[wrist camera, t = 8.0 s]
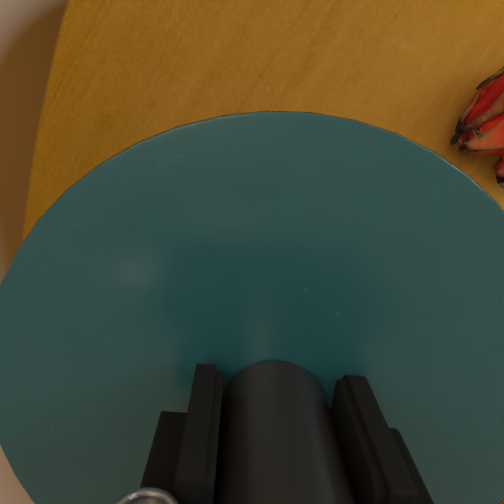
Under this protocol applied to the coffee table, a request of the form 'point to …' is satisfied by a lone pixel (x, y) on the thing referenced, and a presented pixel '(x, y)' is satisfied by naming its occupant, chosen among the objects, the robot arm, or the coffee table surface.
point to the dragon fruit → (485, 123)
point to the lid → (258, 312)
